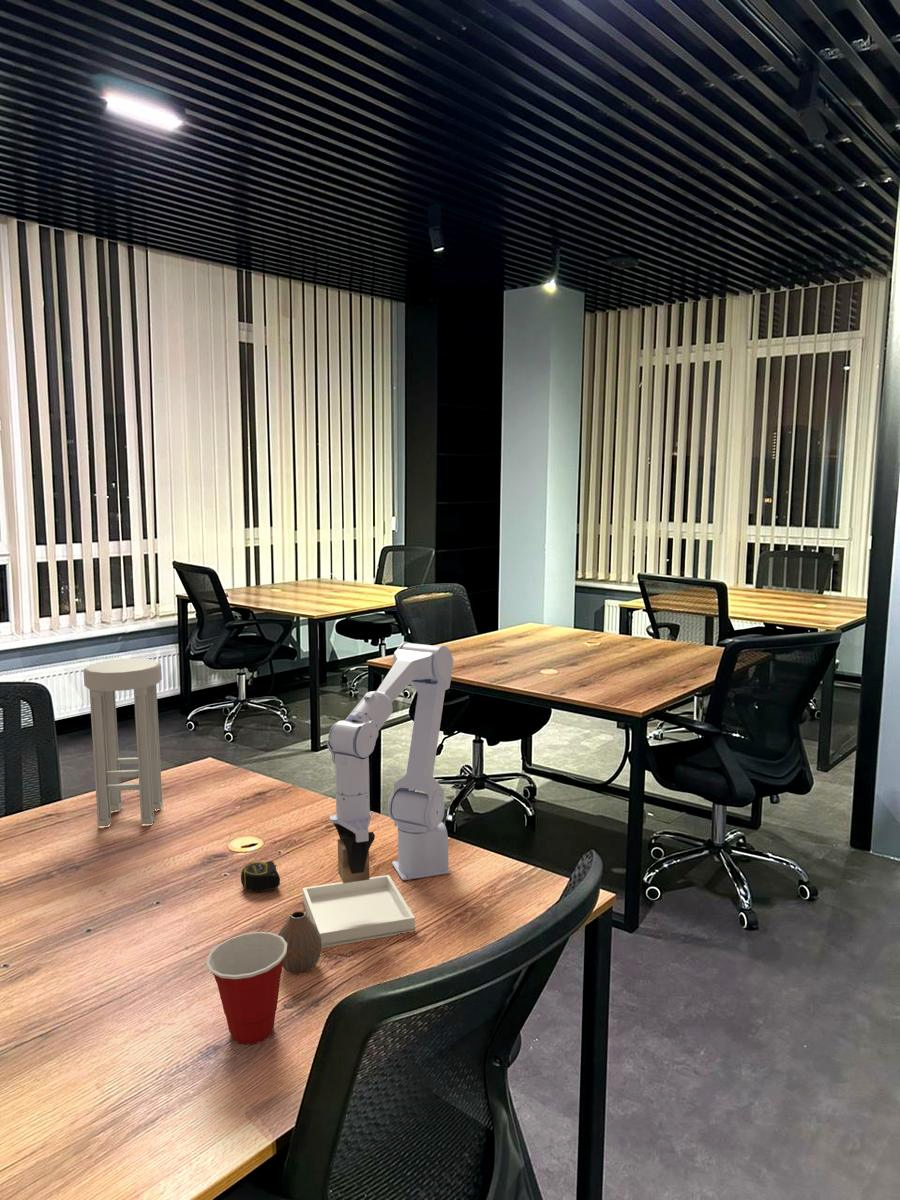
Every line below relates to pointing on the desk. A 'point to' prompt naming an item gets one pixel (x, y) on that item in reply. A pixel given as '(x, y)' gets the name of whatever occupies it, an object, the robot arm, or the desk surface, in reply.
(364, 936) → the tray
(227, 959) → the plastic cup
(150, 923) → the desk surface
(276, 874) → the tape measure
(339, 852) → the walnut block
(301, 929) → the vase
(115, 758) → the stool
